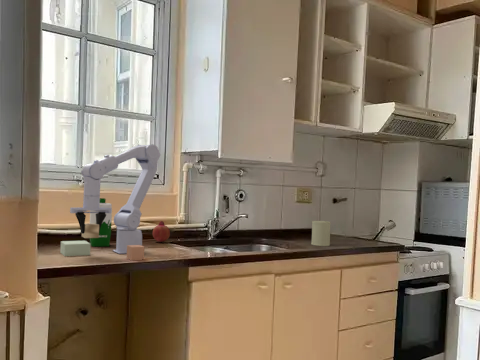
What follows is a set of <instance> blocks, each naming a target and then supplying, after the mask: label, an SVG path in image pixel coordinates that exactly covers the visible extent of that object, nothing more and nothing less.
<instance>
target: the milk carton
mask: <svg viewBox="0 0 480 360" xmlns="http://www.w3.org/2000/svg"><path fill="white" fill-rule="evenodd" d="M106 200H107V199H106V198H104V197H102V198H101V197H100V203H99V208H111V213H105V214H106V217H105V219H104V220H103V222H102V225H101V228H100V231H99V238H89V243H90V244H91V245H90V247H92V248H93V247H95V248H96V247H102V248H103V247H110V243H111V236H112V221H113V220H112V219H113V215H112V214H113V207H112V206H113V205H112V203H110V202H106ZM89 212H99V211H89ZM96 214H97V213H89V224H90V223H95V224H96Z"/></svg>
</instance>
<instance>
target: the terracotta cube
mask: <svg viewBox="0 0 480 360" xmlns="http://www.w3.org/2000/svg"><path fill="white" fill-rule="evenodd" d="M145 247H146V246H144V245H142V246H141V245H127V253H126V259H127V260H129V259H130V261H131V260H132V261H143V260H142V259H144V260H145Z"/></svg>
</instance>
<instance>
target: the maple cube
mask: <svg viewBox="0 0 480 360" xmlns="http://www.w3.org/2000/svg"><path fill="white" fill-rule="evenodd" d="M81 238H84V239H90V238H99V224H95V223H90V222H89V223H85V232H84V233H81Z"/></svg>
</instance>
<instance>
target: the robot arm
mask: <svg viewBox="0 0 480 360" xmlns="http://www.w3.org/2000/svg"><path fill="white" fill-rule="evenodd" d="M103 156H104V157H102V158H101V159H95V160H93V163H86V164H85V165H84V166H83V167H82V170H81V171H80V172H81V175H82V177H83V200H82V201H83V203H82V207H70V209H69V212H70V214H74V215H75V217H76V219H77V222H78V225H79V229H80V233H81V234H82V233H84V232H85V224H86V223H85V222H86V218H87V217H86V216H87V215H86V214H90V213H97V214H96V224H99V231H100V228H101V225H102V222H103V220H104V219H105V217H106V214H105V213H111V208H99V203H100V198H101V181H102V180H101V179H102V178H104V176H105V175H106V174H108V173H110V172H113V171H115V170H117V169H118V168H119V165H120V164H122V163H125V162H127V161H129V160H131V159H135V160H136V162H137V163H138V164H139V166H140V168H141V172H140V174H139V176H138V178H137V181H136V182H135V184H134V187H133V189H132V191H131V194H130V195H129V197H128V199H127V202H126V203H125V204H124V205H123V206H121V207H120V208H119V210H118V211H117V213H115V214H114V217H113V223H114V225H115V226H116V227H115V229H116V243H115V245H116V246H115V247H116V248H115V249H112V252H115V253H116V254H127V245H141V246H143V233H142V232H143V231H142V230H141V229H137V228H138V227H139V226H140V223H141V217H142V212H141V207H142V205H143V202H144V199H145V198H146V195H147V193H148V191H149V189H150V187H151V184H152V182H153V180H154V177H155V176H156V174H157V171H158V163H159V159H160V156H161V153H160V150H159V148H158V146H157V145H156V144H138V145H136V146H132V147H130V148H128V149H126V150H124V151H122V152H121V153H119V154H117V155H115V156H114V155H112V154H105V155H103ZM90 211H99V212H90Z"/></svg>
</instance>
